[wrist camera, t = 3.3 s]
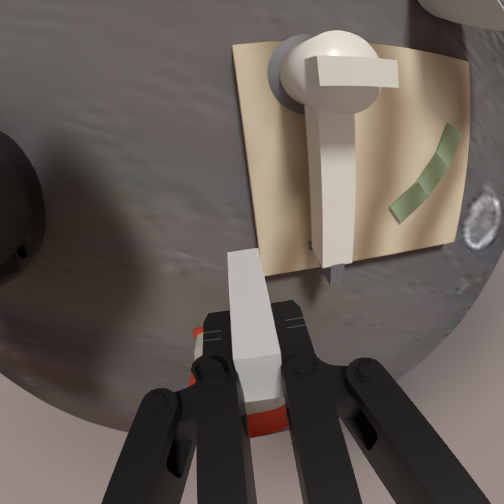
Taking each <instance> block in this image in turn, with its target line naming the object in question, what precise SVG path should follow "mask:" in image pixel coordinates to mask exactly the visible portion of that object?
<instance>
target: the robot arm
mask: <svg viewBox="0 0 504 504" xmlns="http://www.w3.org/2000/svg"><path fill="white" fill-rule="evenodd" d="M44 222H45V217H44V205H43V199H42V194H41V190H40V186H39V183H38V180H37V177H36V175H35V172H34V170H33V168H32V166H31V164H30V162H29V160H28V159H27V157H26V155H25V154H24V152H23V151H22V150H21V148H20V147H19V146H18V145H17V144H16V143H15V142H14V141H13V140H12V139H11V138H10V137H9V136H7V135H6V134H4V133H3V132H1V131H0V286H1V285H3V284H5V283H7V282H9V281H10V280H12V279H14V278H16V277H17V276H18V275H19V274H21V273H22V272H23V271H24V270H25V268H26V267H27V266H28V265H29V263H30V262H31V261H32V260H33V258H34V257H35V256H36V254H37V252H38V250H39V248H40V245H41V242H42V239H43V234H44ZM227 255H228V277H229V298H230V310H229V311H222V312H214V313H209V314H208V315H207V317H206V319H205V321H204V324H203V351H202V356H200V357H198V358H197V359H196V360H195V361H194V363H193V364H192V368H191V371H192V374H193V376H194V378H195V380H196V382H195V383H194V384H193V385H191V386H189V387H187V388H185V389H182V390H180V391H177V392H174V393H173V392H172V391H171V390H168V389H166V388H157V389H154V390H151V391H150V392H149V393H147V394H146V395H145V397H144V398H143V400H142V401H141V404H140V406H139V409H138V411H137V413H136V416H135V418H134V421H133V423H132V426H131V428H130V431H129V433H128V436H127V438H126V441H125V443H124V446H123V448H122V451H121V453H120V456H119V458H118V461H117V463H116V466H115V469H114V472H113V474H112V476H111V479H110V482H109V485H108V487H107V490H106V493H105V495H104V498H103V501H102V503H101V504H180V502H181V498H182V495H183V491H184V487H185V484H186V480H187V477H188V473H189V469H190V466H191V462H192V459H193V455H194V451H195V448H196V444H197V501H198V504H257V499H256V491H255V482H254V473H253V465H252V456H251V447H250V438H249V428H248V419H247V413H246V410H245V402H252V401H259V400H266V399H273V398H279V397H284V399H285V405H286V418H288V424H289V429H290V434H291V440H292V445H293V451H294V456H295V461H296V467H297V472H298V477H299V482H300V488H301V493H302V499H303V504H362V501H361V497H360V493H359V489H358V486H357V482H356V479H355V475H354V471H353V467H352V464H351V460H350V457H349V453H348V450H347V447H346V443H345V439H344V436H343V432H342V429H341V426H340V422H339V419H338V417H340V418H341V419H342V421H343V422H344V424H345V426H346V427H347V428H348V430H349V432H350V433H351V435H352V436H353V438H354V439H355V441H356V443H357V444H358V446H359V447H360V449H361V450H362V452H363V454H364V455H365V457H366V458H367V460H368V461H369V463H370V464H371V466H372V467H373V469H374V470H375V472H376V474H377V475H378V477H379V478H380V480H381V481H382V483H383V484H384V486H385V487H386V489H387V490H388V492H389V493H390V495H391V496H392V498H393V499H394V501H395V502H396V504H491V503H490V502H489V500H488V499H487V498H486V496H485V495H484V493H483V492H482V491H481V489H480V488H479V487H478V485H477V484H476V483H475V482H474V480H473V479H472V477H471V476H470V475H469V474H468V472H467V471H466V470H465V468H464V467H463V466H462V465H461V463H460V462H459V460H458V459H457V458H456V457H455V455H454V454H453V453H452V451H451V450H450V449H449V448H448V446H447V445H446V444H445V443H444V441H443V440H442V439H441V437H440V436H439V435H438V434H437V432H436V431H435V430H434V428H433V427H432V426H431V425H430V424H429V422H428V421H427V420H426V418H425V417H424V416H423V415H422V414H421V412H420V411H419V410H418V409H417V407H416V406H415V405H414V404H413V402H412V401H411V400H410V399H409V397H408V396H407V395H406V394H405V392H404V391H403V390H402V389H401V387H400V386H399V385H398V384H397V383H396V381H395V380H394V379H393V378H392V376H391V375H390V374H389V373H388V372H387V370H386V369H385V368H384V367H383V366H382V364H380V363H379V362H378V361H377V360H374V359H372V358H359V359H355V360H354V361H353V362H351V363H350V364H349V366H335V365H329V364H327V363H324V362H323V361H321V360H320V359H319V358H318V357H317V356H316V354H315V352H314V349H313V346H312V343H311V339H310V336H309V333H308V330H307V327H306V324H305V321H304V318H303V314H302V311H301V308H300V307H299V306H298V305H297V304H296V303H295V302H294V301H293V300H289V301H283V302H277V303H271V304H270V300H269V296H268V291H267V287H266V282H265V277H264V273H263V268H262V263H261V259H260V254H259V249H258V248H254V249H247V250H241V251H234V252H228V253H227ZM244 400H245V401H244Z"/></svg>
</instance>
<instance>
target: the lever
mask: <svg viewBox="0 0 504 504" xmlns="http://www.w3.org/2000/svg"><path fill="white" fill-rule="evenodd" d="M279 75H280V81H281V84H282V86H283V88H284V90H285V91H286V92H287V94H288V95H289V96H290V97H291V98H292V99H294V100H295V101H297V102H299V103H301V104H303V105H304V108H305V120H306V132H307V146H308V162H309V179H310V201H311V231H312V249H313V251H314V252H315V254H316V256H317V258H318V260H319V265H320V267H321V269H322V271H323V273H324V275H325V277H326V279H327V281H328V283H329V285H330V286H335V285H340V284H343V279H344V264H349V263H352V257H353V242H354V222H355V190H356V148H355V116H354V114H355V113H359V112H361V111H363V110H365V109H367V108H368V107H369V106H371V105H372V104H373V103H374V102H375V100H376V99H377V97H378V96H379V94H380V91H381V88H382V87H393V88H399V81H398V66H397V60H391V59H381V58H379V57H378V55H377V54H376V52H375V51H374V49H373V48H372V47H371V46H370V45H369V44H368V43H367V42H366V41H365V40H363V39H362V38H361V37H359V36H357V35H355V34H352V33H350V32H346V31H328V32H325V33H322V34H320V35H317V36H315V37H313V38H311V39H309V40H307V41H305V42H303V43H300V44H298V45H296V46H294V47H293V48H291V49H290V50H289V51H288V52H287V53H286V54H285V55H284V57H283V59H282V61H281V64H280V70H279Z"/></svg>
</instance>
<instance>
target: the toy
mask: <svg viewBox="0 0 504 504" xmlns="http://www.w3.org/2000/svg"><path fill="white" fill-rule="evenodd" d="M194 337H195V338H196V345H195V350H194V359H195V360H196V359H197V358H198V357H200V356H202V351H203V327H200V328H196V329H195V330H194ZM195 382H196V380H195V378H194V376H193V374H192V373H191V379H190V384H189V386H191V385H193V384H194V383H195ZM245 410H246V413H247V419H248V428H249V438H252V437H256V436H261V435H265V434H269V433H273V432H276V431H280V430H282V429H284V428H286V427H288V426H289V424H288V418H286V405H285V399H284V397H279V398H273V399H266V400H259V401H252V402H246V403H245Z"/></svg>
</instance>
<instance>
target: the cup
mask: <svg viewBox="0 0 504 504" xmlns="http://www.w3.org/2000/svg"><path fill="white" fill-rule="evenodd" d="M417 1H418V2H419V3H420V5H421V6H422V7H423V8H424V9H425V10H426V11H427V12H429V13H430V14H432V15H433V16H436V17H439V18H442V19H445V20H449V21H452V22H455V23H458V24H464V25H470V26H475V27H480V28H485V29H490V30H499V31H504V0H417Z"/></svg>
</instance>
